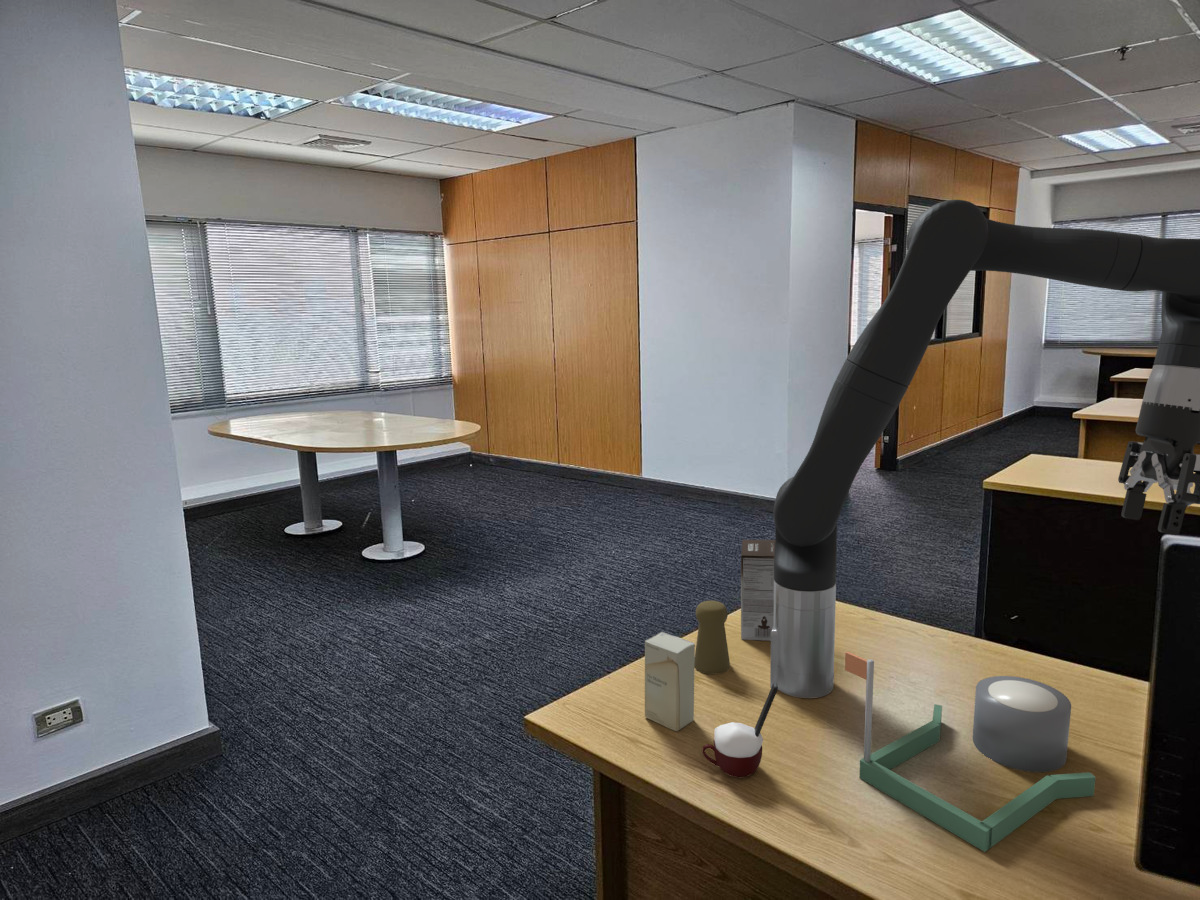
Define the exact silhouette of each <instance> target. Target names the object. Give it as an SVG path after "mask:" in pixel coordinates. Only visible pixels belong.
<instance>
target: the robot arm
mask: <svg viewBox="0 0 1200 900" xmlns="http://www.w3.org/2000/svg"><path fill="white" fill-rule="evenodd" d="M905 239H906V240H905V241H906V242H905V244H906V251H907V252H906V255H905V257H904V259H903V262H902V265H901V267H900V268H899V271H898V274H897V276H896V279H895V280H894V283H893V285H892V287H891V289H890V291H889V293H888V295H887V296H886V298H885V300H884V302H883V303H882V304H881V306H880V307H879V309H878V310H877V311H876V312H875V314H874V315H873V316H872V318H871V319H870V320H869V322H868V324H867V325H866V326H865V328H864V329H863V331H862V332H861V333H860V335H859V337H858V338H857V340H856V341H855V343H854V345H853V346H852V348H851V349H850V351H849V353H848V354H847V357H846V359H845V360H844V362H843V365H842V367H840V368H841V369H840V370H839V373H838V375H837V376H836V379H835V381H834V382H833V385H832V387H831V390H830V392H829V395H828V397H827V398H826V399H827V400H826V402H825V404H824V407H823V410H822V413H821V416H820V420H819V423H818V426H817V429H816V432H815V435H814V438H813V441H812V443H811V445H810V448H809V450H808V452H807V454H806V456H805V457H804V459H803V461H802V462H801V464H800V466H799V467H798V469H797V470H796V472H795V474H794V476H792V477H790V478H789V479H787V480H786V481H785V482H784V483H783V484H782V485H781V486H780V487H779V489H778V491H777V494H776V496H775V501H774V504H773V511H772V512H773V513H772V515H773V521H774V524H775V525H774V526H775V527H774V528H775V531H774V533H775V535H774V536H775V537H774V540H775V555H774V616H773V628H772V630H771V641H770V680H769V681H770V683H769V684H770V686H769V687H770V689H771V687H772V685H773V683H774V682H776V683H777V686H778V690H777V691H779V692H781V693H783V694H785V695H788V696H790V697H795V698H800V699H816V698H822V697H825V696H827V695H829V694H830V693H831V692H832V691H833V689H834V680H835V672H834V671H835V636H836V634H835V633H836V604H837V603H836V597H837V596H836V595H837V594H836V593H837V570H838V569H837V565H838V564H837V557H838V556H837V555H838V548H837V547H838V545H837V544H838V543H837V541H838V520H839V519H840V516H841V512H842V510H843V507H844V505H845V503H846V502H845V501H846V500H847V497H848V495H849V493H850V491H851V489H852V486H853V483H854V481H855V479H856V476H857V474H858V472H859V470H860V468H861V466H863V464H864V463H865V460H866V459H867V457H868V456H869V455H870V453H871V451H872V450H873V448H875V445H876V444H877V442H878V440H879V439H880V437H881V435H882V434H883V432H884V431H885V429H886V427H887V426H888V424H889V422H890V421H891V419H892V418H893V416H894V414H895V412H896V411H897V409H898V407H899V405H900V403H901V401H902V400H903V398H904V396H905V394H906V392H907V390H909V389H908V388H909V386H910V385H911V383H912V381H913V379H914V376H915V375H916V372H917V370H918V367H919V366H920V364H921V362H922V360H923V357H924V355H925V353H926V352H927V349H928V348H929V347H928V346H929V344H930V342H931V340H932V337H933V335H934V332H935V330H936V328H937V326H938V323H939V321H940V319H941V318H942V316H943V313H944V312H945V311H946V309H947V307H948V305H949V303H950V302H951V300H952V299H953V297H954V295H955V294H956V293H957V291H958V289H960V286H961V285H962V284H963V282H964V281H965V279H966V278H967V276H968V274H969V273H971V271H975V272H976V271H978V272H980V271H985V272H986V271H987V272H997V273H998V272H1000V273H1008V274H1010V273H1011V274H1017V275H1026V276H1031V277H1037V278H1041V279H1047V280H1053V281H1059V282H1064V283H1069V284H1075V285H1082V286H1085V287H1087V286H1088V287H1093V288H1098V289H1099V288H1100V289H1107V290H1113V291H1122V292H1137V293H1138V292H1149V291H1152V292H1153V291H1155V292H1156V291H1157V292H1161V310H1160V311H1161V313H1160V319H1161V320H1160V321H1161V334H1160V337H1159V341H1158V345H1157V349H1156V353H1155V358H1154V360H1153V361H1154V362H1153V365H1152V369H1151V371H1150V374H1149V376H1148V379H1147V382H1146V385H1145V389H1144V394H1143V398H1142V402H1141V405H1140V410H1139V415H1138V419H1137V423H1136V427H1135V434H1136V435H1138V436H1140V437H1145V439H1144V440H1143V442H1141V441H1140V442H1139V441H1131V440H1129V441H1128V442H1127V446H1126V449H1125V453H1124V456H1123V459H1122V464H1121V468H1120V470H1119V471H1120V472H1119V474H1118V481H1117V482H1118V483H1119V484H1123V488H1124V490H1126V493H1125V497H1124V501H1123V505H1122V510H1121V515H1120V516H1121V517H1123V518H1125V519H1129V520H1134V521H1139V520H1140V519H1141V518H1142V515H1143V511H1144V507H1145V506H1144V505H1145V503H1146V499H1147V492H1148V491H1149V489H1150V488H1151V487H1152V485H1153V484H1156V483H1157V486H1158V487H1160V488H1161V489H1162V490H1163V495H1164V500H1165V502H1164V503H1163V506H1162V508H1161V512H1160V513H1161V514H1160V517H1159V521H1158V526H1157V531H1158V532H1160V533H1162V534H1165V535H1166V534H1168V535H1173V536H1176V535H1178V534H1180V532H1181V529H1182V525H1183V521H1184V517H1185V514H1186V509H1187V507H1190V506H1191V505H1194V504H1195V505H1200V453H1199V454H1198V453H1194V447H1195V446H1196V445H1199V446H1200V238H1176V237H1175V238H1174V237H1173V238H1169V237H1167V238H1166V237H1165V238H1161V237H1152V236H1148V235H1142V234H1135V233H1134V234H1133V233H1127V232H1118V231H1113V230H1112V231H1110V230H1103V229H1102V230H1101V229H1090V228H1089V229H1088V228H1086V229H1085V228H1073V227H1072V228H1069V227H1065V228H1064V227H1042V226H1028V225H1027V226H1026V225H1021V224H1020V225H1019V224H1011V223H1006V222H1001V221H998V220H997V221H996V220H992V219H989V218H986V216H985V214H984V212H983V211H982V210H981V209H980V208H979V206H977V205H976V204H975V203H973V202H972V201H967V200H963V199H948V200H943V201H941V202H937V203H935V204H933V205H932V206H930V207H929V208H926V209H925V210H924V211H922V212H921V213H920V214H919V215H918V216H917V217H916V218H915V219H914V221H912V223H911V225H910V227H909V229H908V232H907V235H906V238H905ZM1129 474H1130V475H1129ZM1192 487H1194V488H1193V493H1192V492H1191V488H1192Z"/></svg>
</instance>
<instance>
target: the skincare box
mask: <svg viewBox="0 0 1200 900" xmlns="http://www.w3.org/2000/svg"><path fill="white" fill-rule="evenodd" d="M695 651H696V644H695V642H693V641H689V640H688V639H684V638H681V637H679V636H676V635H673V634H669V633H667V632H664V631H660V632H659V633H656V634H654V635H653V636H650V637H649V638H648V639H645V640H644V717H645V718H646V719H649V720H650V721H653V722H654V723H657V724H659V725H661V726H664V727H666V728H667V729H670V730H672V731H673V732H674V731H675V732H678V731H680V730H681V729H683V728H685V727H686V726H687V725H689V724H690V723H691V722H693V721H694V720H695V719H694V718H695V717H694V716H695V713H694V712H695V668H694V662H695Z"/></svg>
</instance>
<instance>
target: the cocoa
mask: <svg viewBox="0 0 1200 900" xmlns="http://www.w3.org/2000/svg"><path fill="white" fill-rule="evenodd" d="M778 691H779V690H778V686H777V683H776V682H774V683H773V685H772V687H771V688H770V690H769V692H768V694H767V696H766V700H765V702H764V705H763V707H762V709H761V711H760V714H759V716H758V720H757V721H756V724H755V726H754V727H753V726H750V725H746V724H745V723H741V722H733V721H731V722H728V723H727V722H726V723H724V724H721V725H718V726H717V727H715V728H714V739H713V744H709V743H708V744H707V743H706V744H704V745H703V747H702V749H701V750H702V751H701V752H702V755H703V757H704V758H705V759H706V760H707V761H708V762H709V763H710V764H713V765H714V766H716V767H719V770H721V771H722V772H723V774H726V775H728V776H730V777H734V778H739V779H740V777H741V778H746V777H749V776H751V775H753V774H754V773H755V772H756V771H757V769H758V768H759V767H760V764H761V761H762V756H763V741H764V738H763V735H762V733H761V731H762V728H763V726H764V723H766V722H765V721H766V719H767V716H768V714H769V712H770V709H771V706H772V704H773V703H774V700H775V697H776V695H777V692H778ZM707 749H709V750H712V751H713V753H714V757H715V759H714V758H712V757H711V756H709V755H708V754H707V753H706V750H707Z"/></svg>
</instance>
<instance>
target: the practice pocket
mask: <svg viewBox="0 0 1200 900" xmlns="http://www.w3.org/2000/svg"><path fill="white" fill-rule="evenodd" d="M844 654H845V655H844V671H847V672H848V673H850V674H853V675H854V676H857V677H858V678H861V679H863V680H865V682H866V684H865V709H864V710H865V711H864V712H865V713H864V715H865V716H864V717H865V718H864V741H863V742H864V743H863V757H862V759H860V760H859V779H860V778H861V780H862V781H864V782H866V783H867V782H868V783H867V784H869V785H871V786H872V785H873V786H872V787H874V788H875V789H877V790H879V791H881V793H884V794H886V795H887V796H889V797H891V798H892V799H894V800H896V801H897V802H900V803H901V804H902V805H905V806H906V807H908V808H909V809H911V810H913V811H914V812H917V813H918V814H919V815H921V816H923V817H924V818H926V819H928V820H929V821H931V822H933V823H935V824H936V825H938V826H939V827H942V828H943V829H945V830H947V831H948V832H950V833H951V834H953V835H955V836H957V837H958V838H961V839H962V840H964V841H965V842H967V843H968V844H970V845H972V846H974V847H975V848H977V849H979V850H980V851H982V852H983V853H986V852H988V851H989V849H991V848H993V847H994V846H995V845H997V844H998V843H999V842H1001V841H1002V840H1004V839H1005V838H1006V837H1007V836H1008V835H1010V834H1011V833H1013V832H1014V831H1015V830H1017V829H1018V828H1019V827H1021V826H1022V825H1023V824H1025V823H1026V822H1028V820H1030V819H1031V818H1033V817H1034V816H1035V815H1037V814H1038V813H1040V811H1042V810H1043V809H1044V808H1046V807H1047V806H1049V805H1050V804H1051V803H1052V802H1055V800H1058V799H1071V798H1073V799H1074V798H1084V797H1085V798H1086V797H1094V796H1095V789H1096V788H1095V787H1096V785H1095V784H1096V776H1095V775H1094V774H1093V773H1092V772H1091V771H1089V772H1075V773H1074V772H1073V773H1062V774H1059V773H1058V774H1050V775H1048V774H1047V775H1045V776H1044V777H1043V778H1041V779H1040V780H1039V781H1037V782H1036V783H1034V784H1033V785H1031V786H1030V787H1028V788H1027V789H1026V790H1024V791H1022V793H1020V794H1018V795H1017V796H1015V797H1014V798H1013V799H1012V800H1010V801H1009V802H1007V803H1006V804H1005V805H1003V806H1001V807H1000V808H999V809H998V810H996V811H995V812H993V813H992V814H991V815H989V816H987V817H986V818H985V819H983V820H980V819H979V818H977V817H975V816H972V815H971V814H969V813H968V812H966V811H963V810H962V809H960V808H959V807H957V806H955V805H953V804H952V803H950V802H948V801H946V800H944V799H943V798H941V797H939V796H937V795H935V794H933V792H930V791H928V790H927V789H924V788H923V787H921V786H919V784H915V783H914V782H912V781H911V780H909V779H907V778H905V777H903V776H902V775H900V774H898V773H896V772H894V771H892V769H893V768H895V767H897V766H899V765H901V764H902V763H904V762H906V761H907V760H909V759H911V758H913V757H914V756H916V755H918V754H920V753H921V752H923V751H925V750H926V749H929V748H931V747H933V746H934V745H936V744H937V743H939V742H940V738H941V736H940V735H941V726H942V714H943V713H942V712H943V705H940V704H936V703H935V704H933V714H932V719H931V720H930V721H929V722H927V723H925V724H924V725H921V726H920V727H918V728H916V729H915V730H914V729H913V731H911V732H908V733H907V734H905V735H903V736H901V737H900V738H898V739H896V740H894V741H892V742H891V743H889V744H887V745H884V746H883V747H882V748H880V749H878V750H875V751H874V752H872V729H873V728H872V727H873V704H874V702H873V701H874V700H873V699H874V697H873V696H874V675H875V673H874V672H875V671H874V670H875V661H874V659H865V658H863V657H860V656H859V655H856V654H854V653H852V652H849V651H845V653H844Z"/></svg>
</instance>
